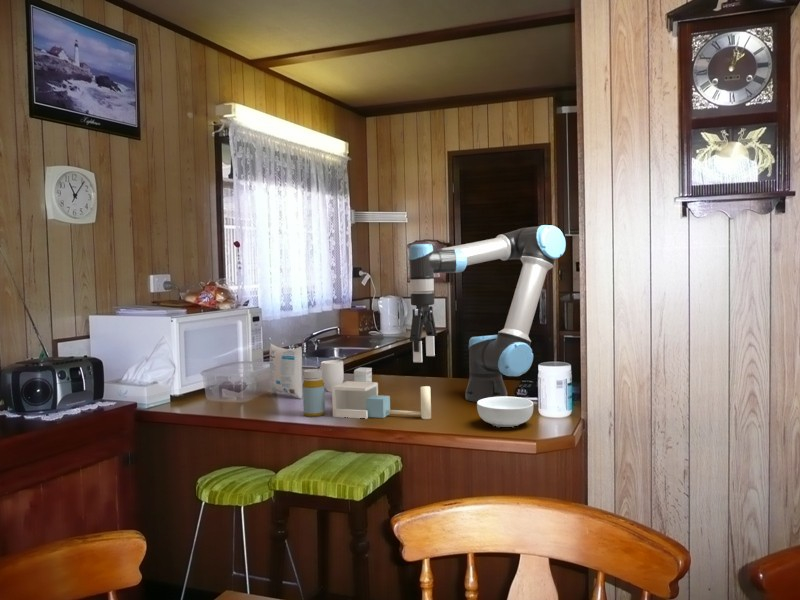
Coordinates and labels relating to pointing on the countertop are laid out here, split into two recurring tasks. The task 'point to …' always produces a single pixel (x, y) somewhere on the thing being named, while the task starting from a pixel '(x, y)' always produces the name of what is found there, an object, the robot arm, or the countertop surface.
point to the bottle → (313, 393)
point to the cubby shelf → (352, 398)
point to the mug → (332, 373)
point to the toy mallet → (381, 409)
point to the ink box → (363, 375)
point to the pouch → (286, 370)
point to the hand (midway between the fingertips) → (424, 359)
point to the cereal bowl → (505, 410)
